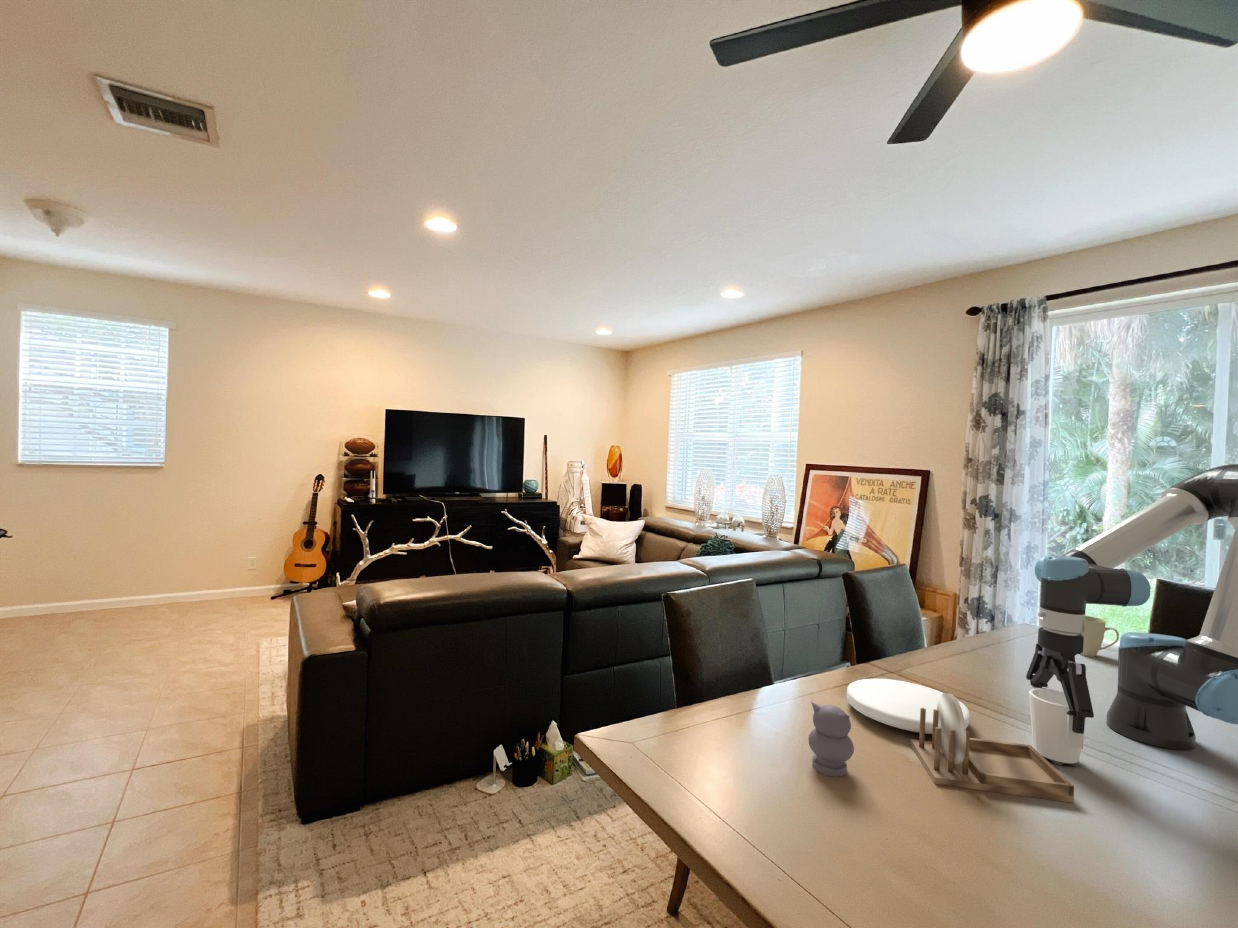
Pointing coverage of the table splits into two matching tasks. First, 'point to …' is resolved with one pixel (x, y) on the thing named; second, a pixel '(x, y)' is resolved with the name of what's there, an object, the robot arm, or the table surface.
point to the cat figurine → (830, 740)
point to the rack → (984, 759)
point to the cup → (1051, 726)
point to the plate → (897, 703)
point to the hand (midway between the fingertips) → (1055, 731)
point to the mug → (1095, 636)
